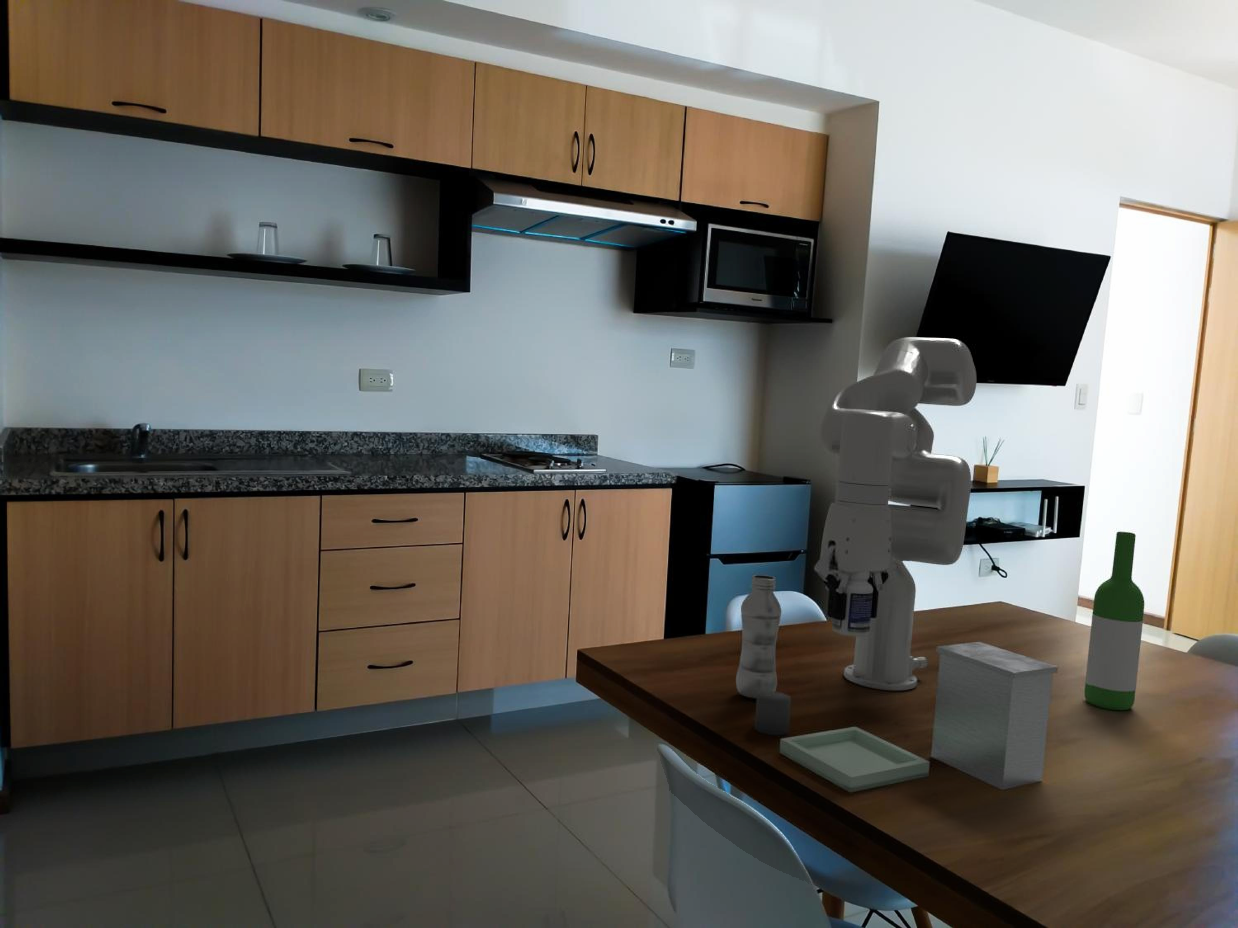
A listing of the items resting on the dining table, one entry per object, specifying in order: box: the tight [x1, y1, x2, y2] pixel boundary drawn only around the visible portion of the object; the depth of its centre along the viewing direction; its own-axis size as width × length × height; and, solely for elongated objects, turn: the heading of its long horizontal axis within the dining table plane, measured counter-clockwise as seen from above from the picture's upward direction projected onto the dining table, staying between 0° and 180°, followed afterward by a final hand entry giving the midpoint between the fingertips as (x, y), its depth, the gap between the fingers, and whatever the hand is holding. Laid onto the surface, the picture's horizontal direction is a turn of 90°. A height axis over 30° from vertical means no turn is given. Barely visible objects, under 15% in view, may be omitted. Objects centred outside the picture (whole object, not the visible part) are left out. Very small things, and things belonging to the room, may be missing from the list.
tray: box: [779, 726, 931, 793], centre depth 131 cm, size 14×14×2 cm
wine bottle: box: [1084, 531, 1145, 711], centre depth 165 cm, size 8×8×30 cm
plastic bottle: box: [735, 574, 782, 700], centre depth 157 cm, size 6×7×20 cm
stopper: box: [754, 691, 792, 736], centre depth 143 cm, size 5×5×5 cm
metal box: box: [930, 641, 1059, 791], centre depth 132 cm, size 9×13×16 cm
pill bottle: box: [831, 572, 873, 638], centre depth 142 cm, size 5×5×10 cm
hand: (851, 615), depth 142 cm, fingers closed on pill bottle, 5 cm apart
